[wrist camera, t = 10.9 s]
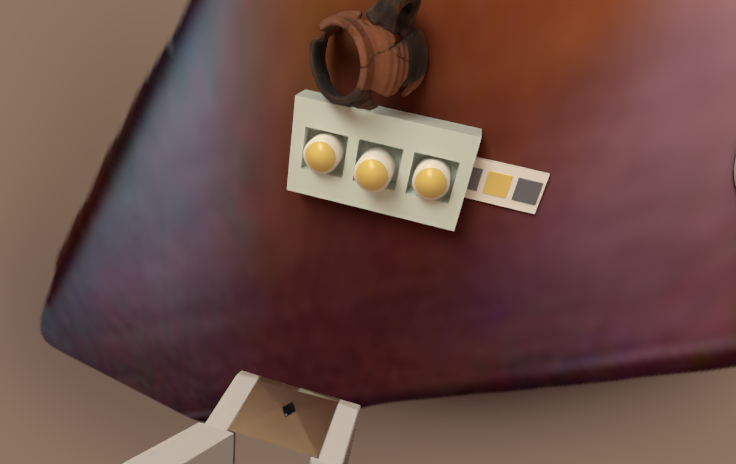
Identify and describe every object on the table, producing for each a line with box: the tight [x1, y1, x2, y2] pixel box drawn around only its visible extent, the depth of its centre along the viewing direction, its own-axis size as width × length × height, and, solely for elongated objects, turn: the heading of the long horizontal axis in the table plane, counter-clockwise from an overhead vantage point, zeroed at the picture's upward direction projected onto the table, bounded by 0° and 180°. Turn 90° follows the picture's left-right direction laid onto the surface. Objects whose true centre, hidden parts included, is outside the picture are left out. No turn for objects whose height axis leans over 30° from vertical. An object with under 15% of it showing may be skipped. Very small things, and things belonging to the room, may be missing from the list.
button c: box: [303, 131, 346, 174], centre depth 48 cm, size 4×4×3 cm
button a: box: [412, 155, 452, 200], centre depth 46 cm, size 4×4×3 cm
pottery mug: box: [310, 0, 429, 111], centre depth 42 cm, size 12×10×8 cm
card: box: [464, 157, 550, 214], centre depth 48 cm, size 9×4×1 cm, turn 79°
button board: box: [287, 89, 482, 231], centre depth 48 cm, size 18×10×3 cm, turn 79°
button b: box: [353, 147, 396, 192], centre depth 46 cm, size 4×4×3 cm
